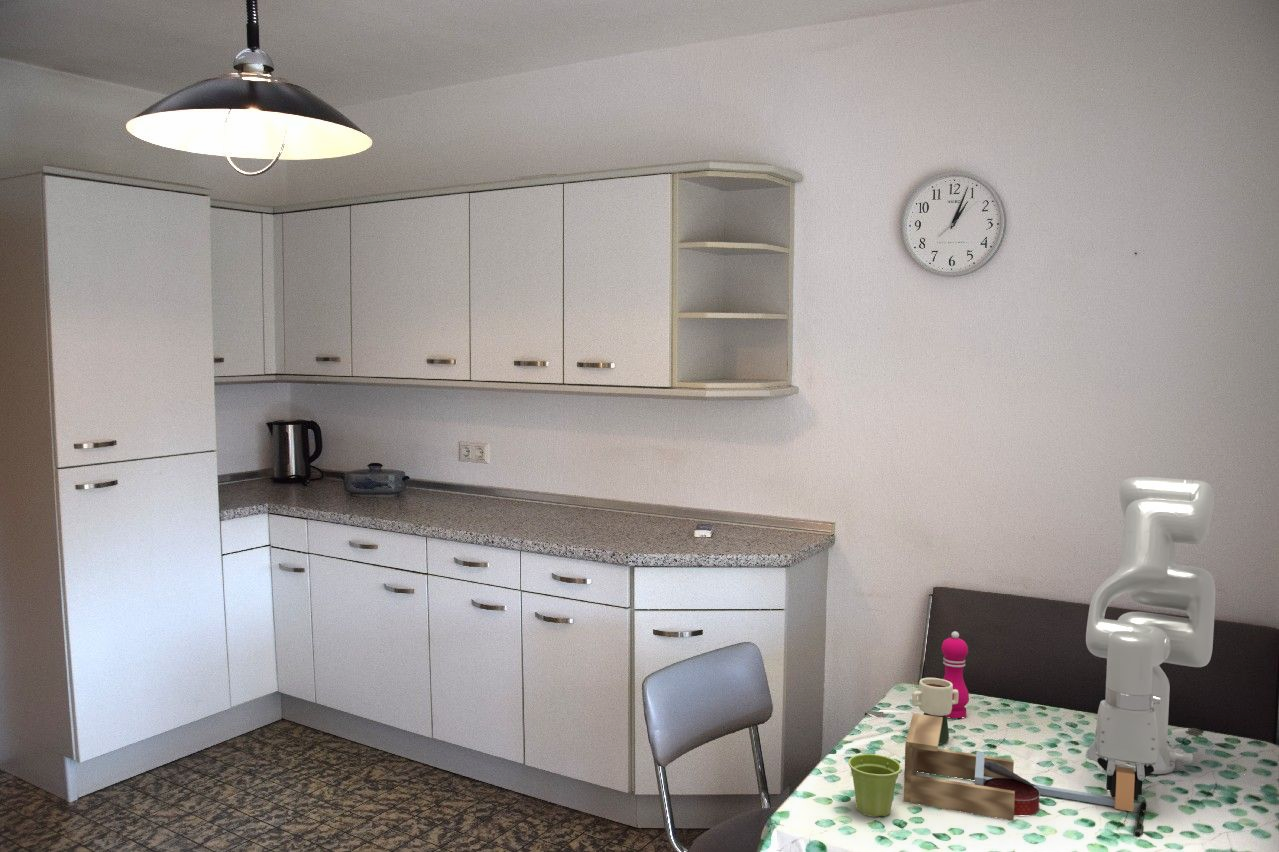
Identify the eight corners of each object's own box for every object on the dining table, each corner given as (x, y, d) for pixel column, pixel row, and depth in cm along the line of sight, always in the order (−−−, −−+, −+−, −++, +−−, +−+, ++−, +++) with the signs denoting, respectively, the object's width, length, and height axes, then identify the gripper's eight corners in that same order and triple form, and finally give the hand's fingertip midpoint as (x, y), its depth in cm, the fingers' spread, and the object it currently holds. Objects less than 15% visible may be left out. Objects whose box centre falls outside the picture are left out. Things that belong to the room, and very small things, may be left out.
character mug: (948, 733, 212) (950, 676, 211) (964, 745, 205) (967, 686, 204) (903, 735, 210) (905, 678, 209) (918, 748, 203) (920, 688, 202)
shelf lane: (1012, 785, 185) (1015, 727, 184) (1013, 820, 169) (1016, 758, 169) (911, 768, 192) (913, 713, 191) (903, 801, 176) (905, 741, 176)
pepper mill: (970, 721, 219) (973, 636, 218) (938, 718, 221) (941, 634, 220) (966, 710, 227) (969, 628, 226) (934, 708, 228) (937, 626, 227)
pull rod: (1131, 804, 176) (1132, 768, 176) (1141, 837, 164) (1143, 798, 163) (975, 779, 186) (976, 745, 186) (973, 808, 173) (974, 771, 173)
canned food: (981, 820, 180) (970, 765, 184) (1034, 816, 179) (1022, 761, 183) (997, 817, 169) (985, 759, 174) (1054, 813, 169) (1040, 755, 173)
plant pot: (890, 827, 166) (892, 779, 166) (839, 813, 171) (841, 766, 171) (906, 807, 174) (907, 761, 174) (856, 794, 179) (858, 749, 179)
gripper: (1174, 699, 175) (1170, 795, 176) (1078, 687, 181) (1074, 780, 182) (1181, 712, 168) (1176, 812, 169) (1080, 699, 174) (1076, 796, 175)
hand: (1123, 795), depth 176 cm, fingers closed on pull rod, 3 cm apart
